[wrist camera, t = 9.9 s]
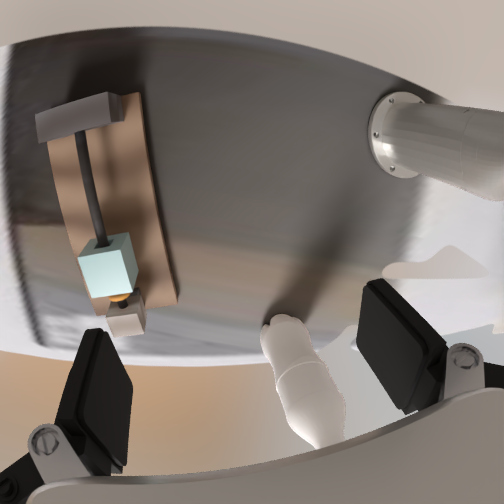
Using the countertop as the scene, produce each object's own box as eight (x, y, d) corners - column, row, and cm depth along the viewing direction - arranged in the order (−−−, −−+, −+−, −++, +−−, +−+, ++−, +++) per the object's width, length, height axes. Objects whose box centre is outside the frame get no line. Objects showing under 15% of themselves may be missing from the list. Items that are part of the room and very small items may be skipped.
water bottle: (248, 323, 45) (297, 473, 23) (291, 300, 45) (366, 441, 23) (268, 351, 49) (318, 486, 26) (307, 330, 48) (376, 459, 26)
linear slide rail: (49, 118, 28) (19, 121, 21) (140, 93, 30) (127, 86, 23) (99, 309, 40) (87, 343, 33) (177, 298, 41) (177, 332, 35)
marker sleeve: (90, 239, 32) (77, 257, 28) (128, 231, 33) (120, 249, 29) (101, 276, 35) (91, 298, 30) (138, 270, 35) (132, 292, 31)
